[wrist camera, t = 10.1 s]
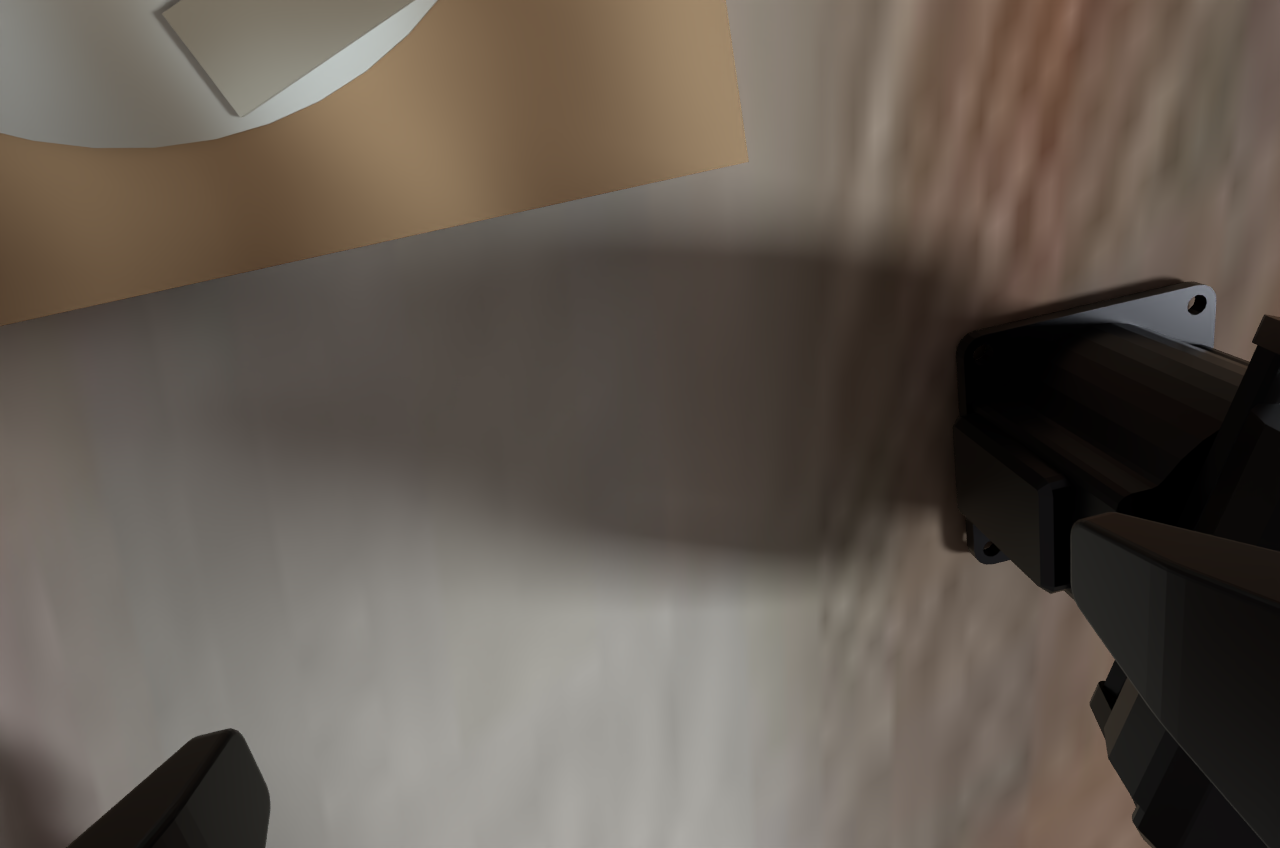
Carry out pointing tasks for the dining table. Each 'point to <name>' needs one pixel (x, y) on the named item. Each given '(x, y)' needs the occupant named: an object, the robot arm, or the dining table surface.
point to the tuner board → (328, 127)
